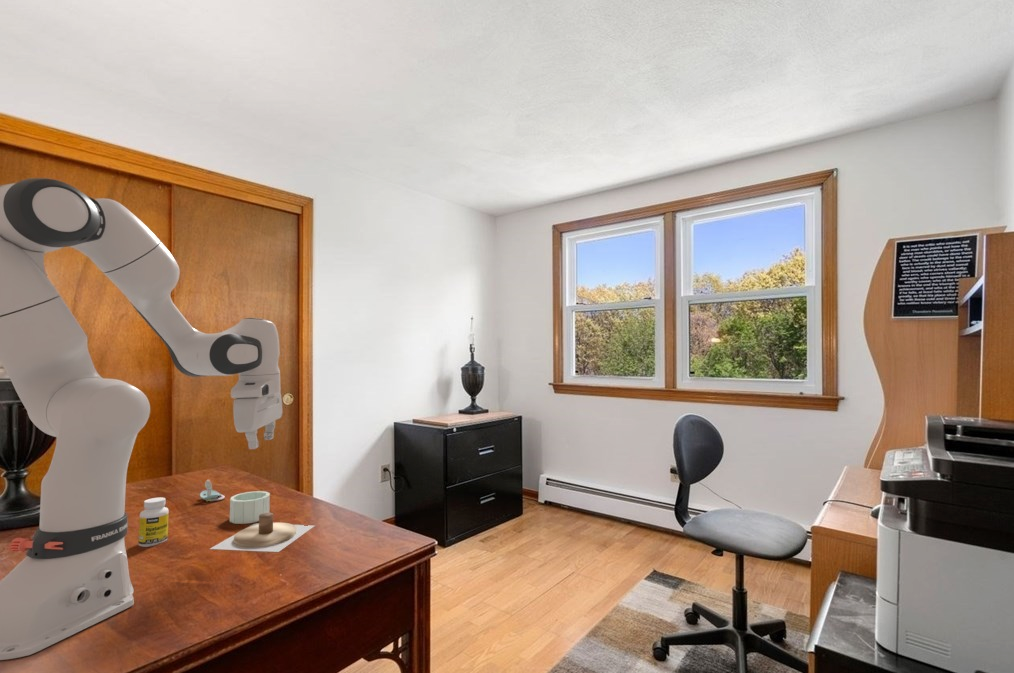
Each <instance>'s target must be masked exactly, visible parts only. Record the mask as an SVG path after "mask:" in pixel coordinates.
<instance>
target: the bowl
mask: <svg viewBox="0 0 1014 673" xmlns="http://www.w3.org/2000/svg"><path fill="white" fill-rule="evenodd" d="M270 495H271V492H268V491H265V490H256V491H245V492H241V493H238V494H237V493H236V494H234V495H232V496H231V497H230V499H229V523H232V524H238V525H239V524H241V525H243V524H252V523H253V524H254V523H257V522H259V515H261V514H264V513H270Z"/></svg>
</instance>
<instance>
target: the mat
mask: <svg viewBox="0 0 1014 673" xmlns="http://www.w3.org/2000/svg"><path fill="white" fill-rule="evenodd" d="M255 525H259V522H258V523H257V522H254V523H253V524H251V525H249V526H247V527H245V528H244V529H246V528H248V527H252V526H255ZM293 525H294V526H295V527H296V534H295V535H294V536H293V537H292V538H290V539H289V540H287V541H284V542H281V543H278V544H275V545H270V546H265V547H254V548H248V547H240V546H237V545H235V544H234V536H235V534H233V535H231V536H230V537H228V538H225V539H224V540H223V541H221V542H219V543H217V544H216V545H213V546H212V547H211V548H209V550H215V551H216V550H219V551H241V552H242V551H245V552H263V553H264V552H265V553H279V552H281V551H282V550H284V549H285V548H286V547H288V546H289V545H291V544H292V543H294V542H296V540H298V539H299V538H300V537H302V536H303V535H305V534H306V533H307V532H309V531H311V529H313V528H314V527H315V525H308V526H304V525H305V524H293Z"/></svg>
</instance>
